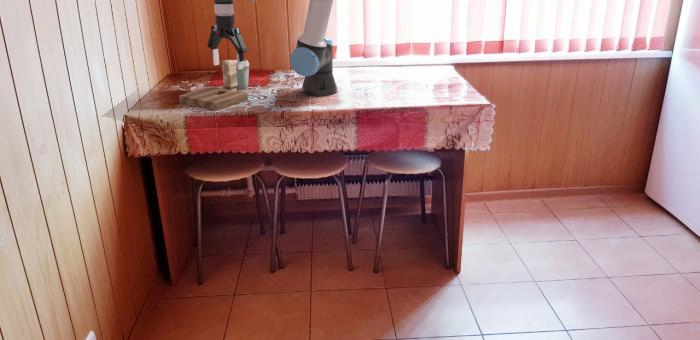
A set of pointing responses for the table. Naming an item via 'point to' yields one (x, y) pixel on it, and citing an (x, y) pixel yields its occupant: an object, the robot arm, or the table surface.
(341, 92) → the table surface
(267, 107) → the table surface
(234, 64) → the peg
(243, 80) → the coffee cup
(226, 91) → the board
